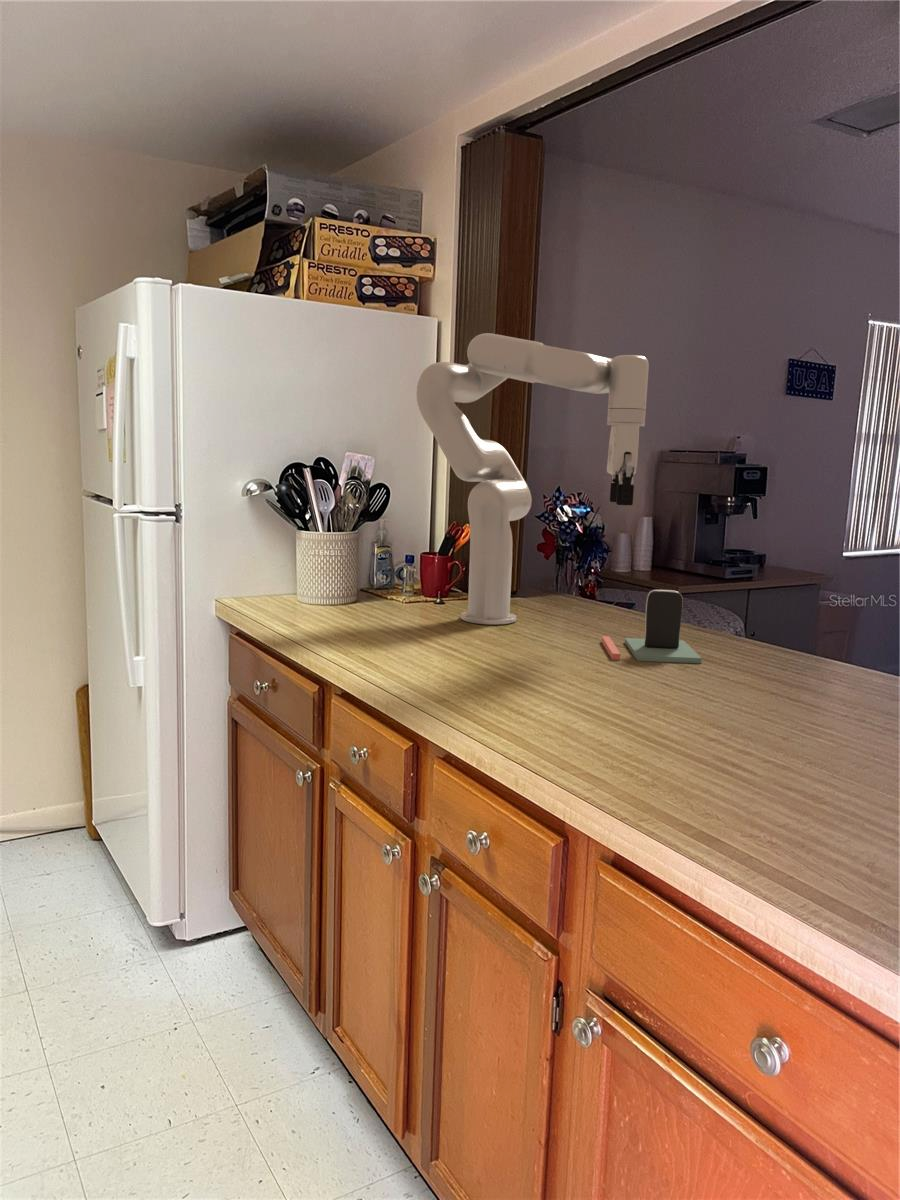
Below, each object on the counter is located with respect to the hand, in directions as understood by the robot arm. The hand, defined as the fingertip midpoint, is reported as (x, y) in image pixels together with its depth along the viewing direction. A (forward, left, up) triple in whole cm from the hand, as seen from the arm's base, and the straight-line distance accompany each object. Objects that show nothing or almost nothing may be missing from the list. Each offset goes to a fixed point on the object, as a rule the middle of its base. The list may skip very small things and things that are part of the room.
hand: (620, 503), depth 188 cm
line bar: (+12, -2, -28) cm, 31 cm away
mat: (+12, +8, -28) cm, 32 cm away
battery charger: (+11, +8, -28) cm, 31 cm away
